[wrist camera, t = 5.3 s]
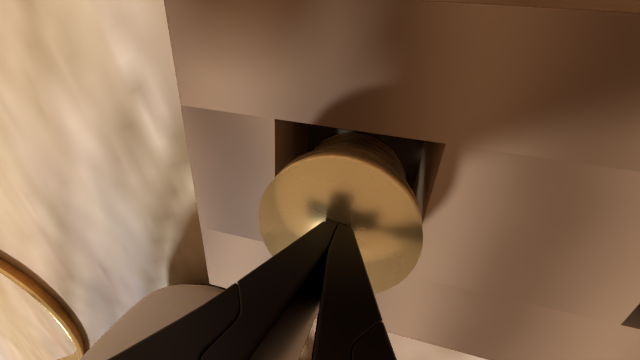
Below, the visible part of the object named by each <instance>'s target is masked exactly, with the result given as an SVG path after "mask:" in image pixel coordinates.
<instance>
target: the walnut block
mask: <svg viewBox="0 0 640 360" xmlns="http://www.w3.org/2000/svg"><path fill="white" fill-rule="evenodd" d="M164 4H165V10H166V16H167V23H168V29H169V35H170V41H171V47H172V54H173V60H174V66H175V72H176V78H177V85H178V91H179V97H180V103H181V110H182V116H183V122H184V128H185V134H186V141H187V147H188V153H189V159H190V165H191V172H192V178H193V184H194V190H195V196H196V203H197V209H198V215H199V221H200V228H201V234H202V240H203V246H204V252H205V259H206V265H207V271H208V277H209V283H210V284H212V285H216V286H219V287H223V288H228V287H230V286H231V285H232V284H234V283H237V281H238V280H240V279H241V278H243V277H244V276H245V275H247V274H248V273H250V272H251V271H253V270H254V269H255V268H257V267H258V266H260V265H261V264H263V263H264V262H265V261H267V260H268V259H270V258H271V257H272V255H271V254H270V252H269V251H268V249H267V247H266V245H265V244H264V241H263V239H262V236H261V233H260V229H259V221H258V211H259V206H260V201H261V199H262V196H263V194H264V192H265V190H266V188H267V187H268V185H269V184H270V183H271V182H272V181H273V179H274V178H275V177H276V176H277V175H278V174H279V172H280V171H281V170H282V169H283V168H284V167H285V166H286V165H287V164H288V163H289V162H291V161H292V160H294V159H295V158H297V157H299V156H301V155H303V154H305V153H307V136H308V124H314V125H321V126H327V127H334V128H341V129H348V130H355V131H362V132H369V133H376V134H382V135H389V136H396V137H403V138H410V139H417V140H424V141H425V144H424V148H423V152H422V156H421V160H420V164H419V168H418V171H417V175H416V179H415V183H414V187H413V192H414V194H415V196H416V198H417V200H418V204H419V207H420V212H421V220H422V230H423V247H422V251H421V255H420V258H419V260H418V262H417V264H416V266H415V267H414V269H413V270H412V272H411V273H410V274H409V275H408V276H407V277H406V278H405V279H404V280H403V281H401V282H400V283H399V284H397V285H395V286H394V287H392V288H390V289H388V290H385V291H383V292H380V293H376V294H374V295H375V298H376V301H377V304H378V307H379V310H380V313H381V316H382V320H383V321H382V322H383V323H384V325H385V328H386V331H387V332H389V333H392V334H396V335H400V336H404V337H407V338H411V339H415V340H418V341H422V342H426V343H429V344H433V345H437V346H440V347H444V348H448V349H451V350H455V351H459V352H462V353H466V354H470V355H474V356H477V357H481V358H485V359H488V360H640V13H630V12H613V11H596V10H579V9H562V8H544V7H527V6H510V5H493V4H475V3H458V2H441V1H424V0H164ZM318 311H319V309H318ZM318 311H317V313H318Z"/></svg>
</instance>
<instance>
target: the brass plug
mask: <svg viewBox="0 0 640 360" xmlns="http://www.w3.org/2000/svg"><path fill="white" fill-rule="evenodd" d="M258 221H259V229H260V233H261V236H262V239H263V241H264V244H265V245H266V247H267V249H268V251H269V252H270V254H271V255H272V257H273V256H274V255H275V254H277V253H278V252H280V251H281V250H283V249H284V248H285V247H287V246H288V245H290V244H291V243H293V242H294V241H295V240H297V239H298V238H300V237H301V236H303V235H304V234H305V233H307V232H308V231H310V230H311V229H313V228H314V227H315V226H317V225H318V224H320V223H321V222H323V221H328V222H333V223H336V224H337V226H338V225H339V224H342V225H347V226H351V227H352V228H353V231H354V234H355V237H356V240H357V243H358V246H359V249H360V252H361V255H362V258H363V261H364V264H365V267H366V271H367V274H368V277H369V280H370V283H371V286H372V289H373V292H374V294H376V293H380V292H383V291H385V290H388V289H390V288H392V287H394V286H395V285H397V284H399V283H400V282H401V281H403V280H404V279H405V278H406V277H407V276H408V275H409V274H410V273H411V272H412V270H413V269H414V267H415V266H416V264H417V262H418V260H419V258H420V255H421V251H422V247H423V230H422V220H421V212H420V207H419V204H418V200H417V198H416V196H415V194H414V192H413V190H412V189H411V187H410V186H409V184H408V183H407V182H406V176H405V171H404V168H403V165H402V163H401V161H400V159H399V158H398V156H397V155H396V154H395V153H394V151H393V150H392V149H391V148H389V147H388V146H387V145H386V144H384V143H383V142H381V141H380V140H378V139H376V138H374V137H371V136H368V135H364V134H358V133H344V134H338V135H335V136H332V137H330V138H328V139H325V140H324V141H322V142H321V143H320V144H318V145H317V146H316V147H315V148H314V149H313V151H311V152H308V153H305V154H303V155H301V156H299V157H297V158H295V159H294V160H292V161H291V162H289V163H288V164H287V165H286V166H285V167H284V168H283V169H282V170H281V171H280V172H279V174H278V175H277V176H276V177H275V178H274V179H273V181H272V182H271V183H270V184H269V185H268V187H267V188H266V190H265V192H264V194H263V196H262V199H261V201H260V206H259V211H258Z"/></svg>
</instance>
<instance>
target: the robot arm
mask: <svg viewBox="0 0 640 360" xmlns="http://www.w3.org/2000/svg"><path fill="white" fill-rule="evenodd" d="M318 309H319V311H318ZM317 311H318V318H317V325H316V332H315V338H314V345H313V352H312V359H311V360H397V359H396V357H395V354H394V351H393V348H392V346H391V343H390V340H389V337H388V334H387V331H386V328H385V325H384V323H383V322H382V321H383V320H382V316H381V313H380V310H379V307H378V304H377V301H376V298H375V295H374V292H373V289H372V286H371V283H370V280H369V277H368V274H367V271H366V267H365V264H364V261H363V258H362V255H361V252H360V249H359V246H358V243H357V240H356V237H355V234H354V231H353V228H352V227H351V226H347V225H342V224H339V225H338V226H337V224H336V223H333V222H328V221H323V222H321V223H320V224H318V225H317V226H315V227H314V228H313V229H311V230H310V231H308V232H307V233H305V234H304V235H303V236H301V237H300V238H298V239H297V240H295V241H294V242H293V243H291V244H290V245H288V246H287V247H285V248H284V249H283V250H281V251H280V252H278V253H277V254H275V255H274V256H273V257H271V258H270V259H268V260H267V261H265V262H264V263H263V264H261V265H260V266H258V267H257V268H255V269H254V270H253V271H251V272H250V273H248V274H247V275H245V276H244V277H243V278H241V279H240V280H238V281H237V283H234V284H232V285H231V286H230V287H228V288H227V289H225V290H224V291H222V292H221V293H219V294H218V295H216V296H215V297H213V298H212V299H210V300H209V301H207V302H206V303H204V304H203V305H201V306H199V307H198V308H196V309H194V310H193V311H191V312H189V313H188V314H186V315H184V316H183V317H181V318H179V319H178V320H176V321H174V322H172V323H171V324H169V325H167V326H165V327H164V328H162V329H160V330H158V331H157V332H155V333H153V334H151V335H150V336H148V337H146V338H144V339H143V340H141V341H139V342H137V343H136V344H134V345H132V346H130V347H129V348H127V349H125V350H123V351H122V352H120V353H118V354H116V355H114V356H112V357H111V358H109V359H107V360H299V357H300V355H301V352H302V350H303V347H304V344H305V342H306V339H307V337H308V334H309V332H310V329H311V327H312V324H313V322H314V319H315V317H316V314H317Z"/></svg>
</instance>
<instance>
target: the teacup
mask: <svg viewBox="0 0 640 360" xmlns="http://www.w3.org/2000/svg"><path fill="white" fill-rule="evenodd" d="M222 291H224V290H223V289H220V288H217V287H213V286H208V285H190V284H181V285H172V286H168V287H165V288H162V289H159V290H157V291H155V292H152V293H151V294H149V295H148V296H146V297H144V298H143V299H142V300H140V301H139V302H138V303H137V304H136V305H134V306H133V307H132V308H131V309H130V310H129V311H128V312H127V313H126V314H125V315H123V316H122V317H121V318H120V319H119V320H118V321H117V322H116V323H115V324H114V325H113V326H112V327H111V328H110V329H109V330H108V331H107V332H106V333H105V334H104V335H103V336H102V337H101V338H100V339H99V340H98V341H97V342H96V343H95V344H94V345H93V346H92V347H91V348H90V349H89V350H88V351H87V352H86V353H85V354H84V355H83V356H82V357H81V358H80V359H79V360H107V359H109V358H111V357H112V356H114V355H116V354H118V353H120V352H122V351H123V350H125V349H127V348H129V347H130V346H132V345H134V344H136V343H137V342H139V341H141V340H143V339H144V338H146V337H148V336H150V335H151V334H153V333H155V332H157V331H158V330H160V329H162V328H164V327H165V326H167V325H169V324H171V323H172V322H174V321H176V320H178V319H179V318H181V317H183V316H184V315H186V314H188V313H189V312H191V311H193V310H194V309H196V308H198V307H199V306H201V305H203V304H204V303H206V302H207V301H209V300H210V299H212V298H213V297H215V296H216V295H218V294H219V293H221V292H222Z"/></svg>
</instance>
